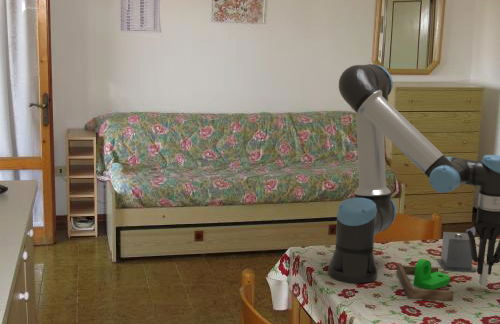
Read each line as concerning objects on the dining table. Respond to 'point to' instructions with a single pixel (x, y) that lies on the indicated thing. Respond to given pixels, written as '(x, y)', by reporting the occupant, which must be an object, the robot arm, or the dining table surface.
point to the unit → (456, 252)
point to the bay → (420, 293)
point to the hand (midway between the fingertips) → (482, 284)
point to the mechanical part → (429, 276)
